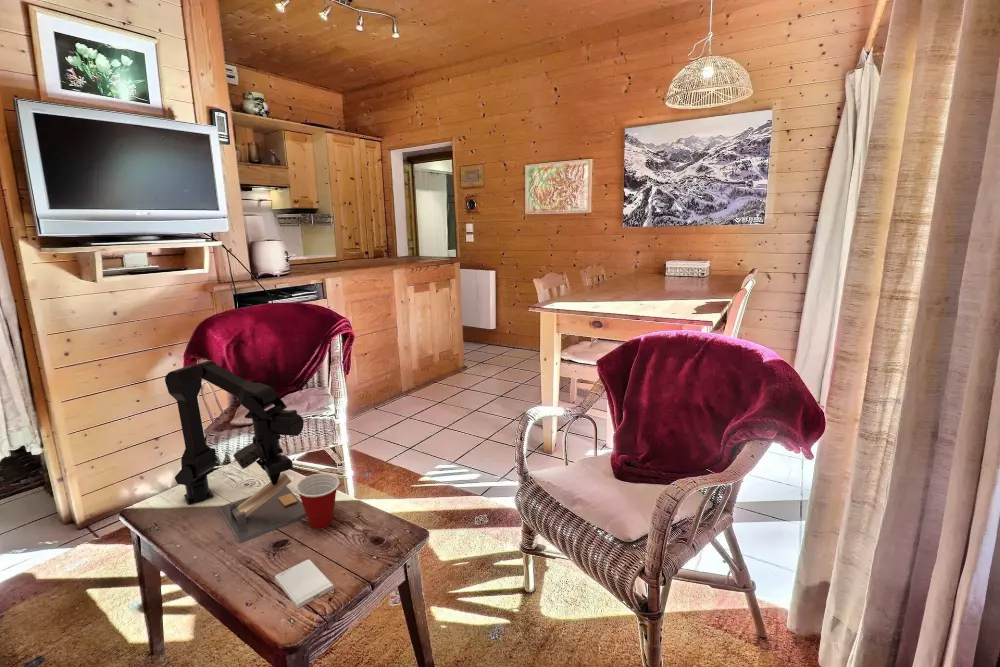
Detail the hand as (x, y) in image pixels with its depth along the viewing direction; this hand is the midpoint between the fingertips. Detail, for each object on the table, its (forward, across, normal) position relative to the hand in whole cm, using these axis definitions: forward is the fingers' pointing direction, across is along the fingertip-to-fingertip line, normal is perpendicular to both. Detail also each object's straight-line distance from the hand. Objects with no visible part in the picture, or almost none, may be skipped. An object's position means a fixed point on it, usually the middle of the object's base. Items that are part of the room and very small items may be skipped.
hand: (274, 484), depth 140 cm
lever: (+3, 0, -3) cm, 5 cm away
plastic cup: (+8, +16, +6) cm, 19 cm away
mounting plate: (+7, 0, -4) cm, 8 cm away
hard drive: (+8, +36, -6) cm, 37 cm away
